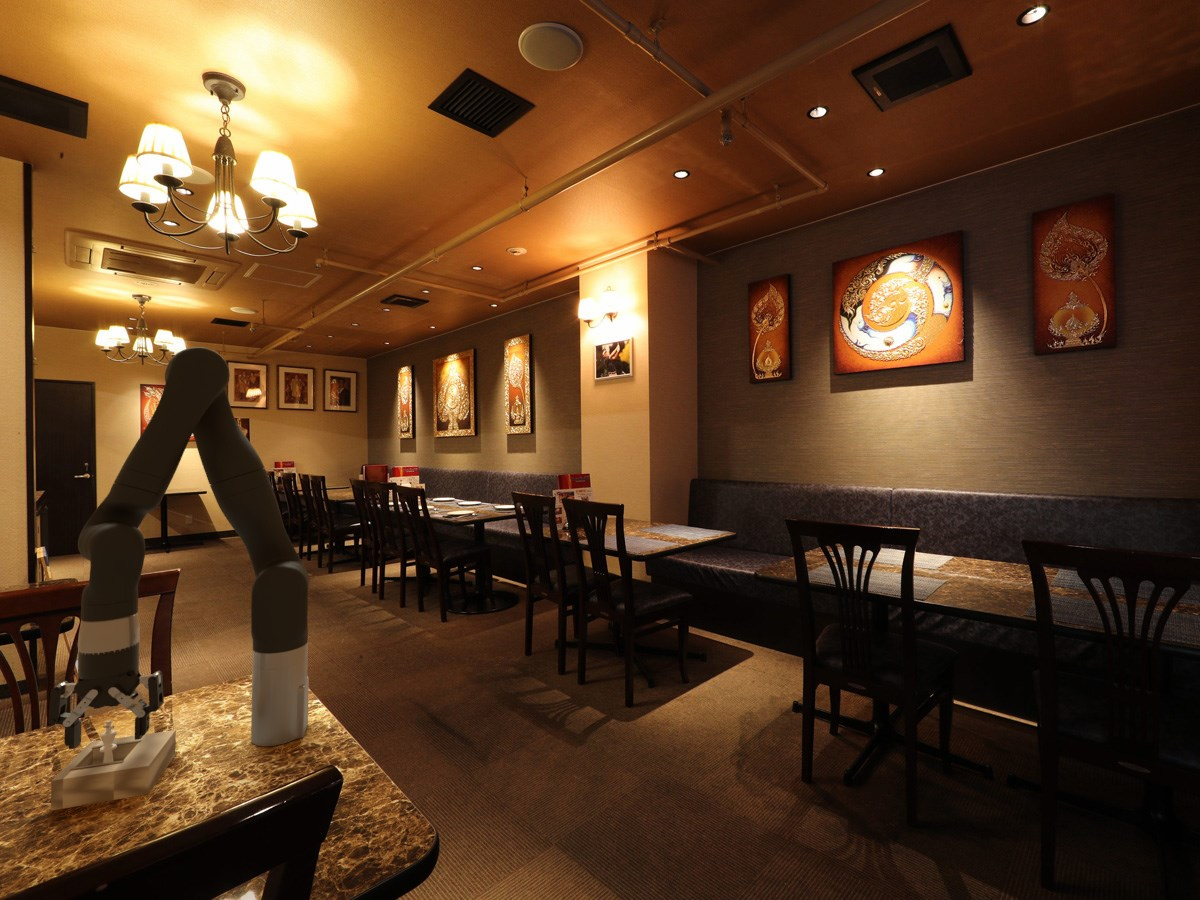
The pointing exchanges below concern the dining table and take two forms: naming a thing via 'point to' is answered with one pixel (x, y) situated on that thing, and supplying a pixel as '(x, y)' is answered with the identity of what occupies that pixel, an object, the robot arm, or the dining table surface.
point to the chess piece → (108, 742)
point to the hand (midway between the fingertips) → (107, 742)
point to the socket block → (113, 770)
